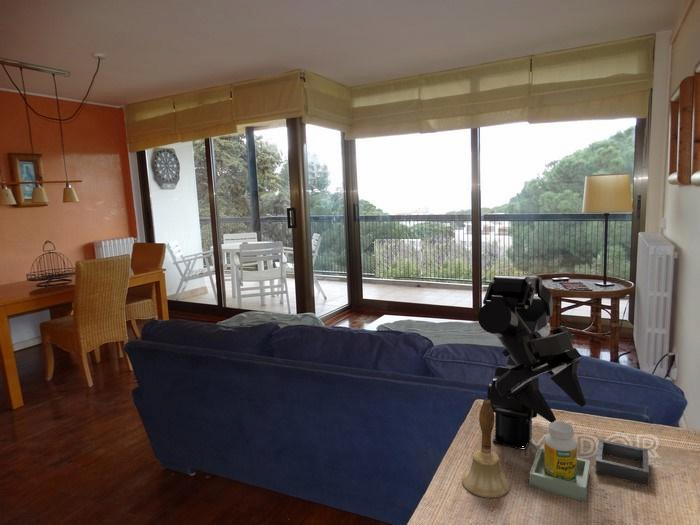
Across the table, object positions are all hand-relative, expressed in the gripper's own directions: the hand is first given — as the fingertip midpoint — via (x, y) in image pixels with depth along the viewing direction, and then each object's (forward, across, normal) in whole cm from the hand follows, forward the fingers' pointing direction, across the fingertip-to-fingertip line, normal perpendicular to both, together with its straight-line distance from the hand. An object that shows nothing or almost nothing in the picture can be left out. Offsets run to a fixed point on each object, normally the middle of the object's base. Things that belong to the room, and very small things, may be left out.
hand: (569, 413), depth 81 cm
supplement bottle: (+8, 0, +10) cm, 13 cm away
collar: (+12, +12, +7) cm, 18 cm away
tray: (+8, 0, +10) cm, 13 cm away
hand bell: (+3, -11, +16) cm, 20 cm away
